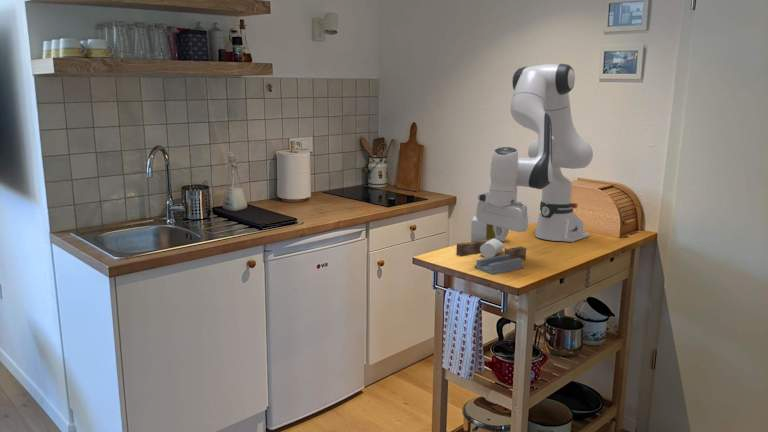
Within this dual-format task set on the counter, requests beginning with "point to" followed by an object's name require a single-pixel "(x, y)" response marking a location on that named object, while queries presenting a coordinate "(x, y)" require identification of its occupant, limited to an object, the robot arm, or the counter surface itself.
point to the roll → (491, 248)
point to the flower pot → (491, 232)
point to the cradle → (499, 264)
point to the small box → (478, 230)
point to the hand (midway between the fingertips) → (500, 240)
